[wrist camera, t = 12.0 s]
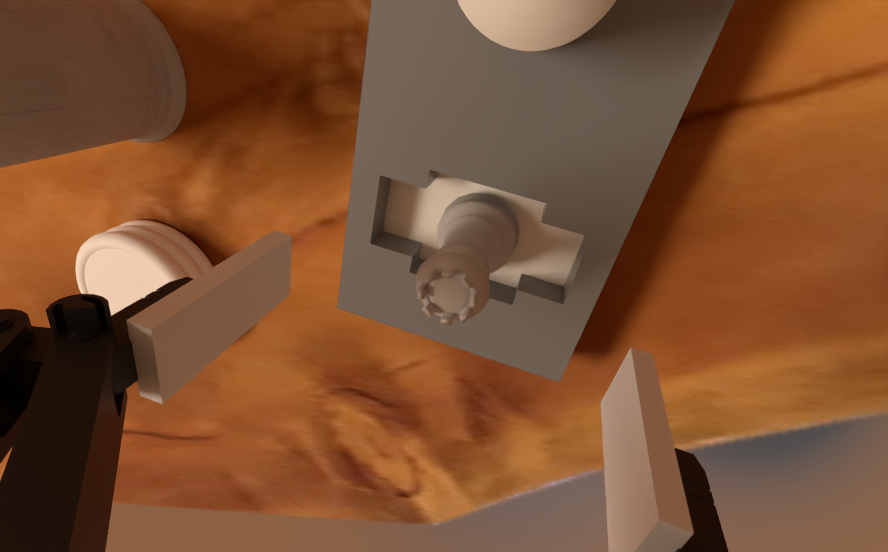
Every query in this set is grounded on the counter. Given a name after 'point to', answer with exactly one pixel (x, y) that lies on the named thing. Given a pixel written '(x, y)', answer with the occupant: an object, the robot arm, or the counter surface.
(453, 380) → the counter surface
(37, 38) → the glass holder
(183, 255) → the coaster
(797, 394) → the counter surface
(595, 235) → the grey panel with recess
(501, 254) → the rook chess piece
